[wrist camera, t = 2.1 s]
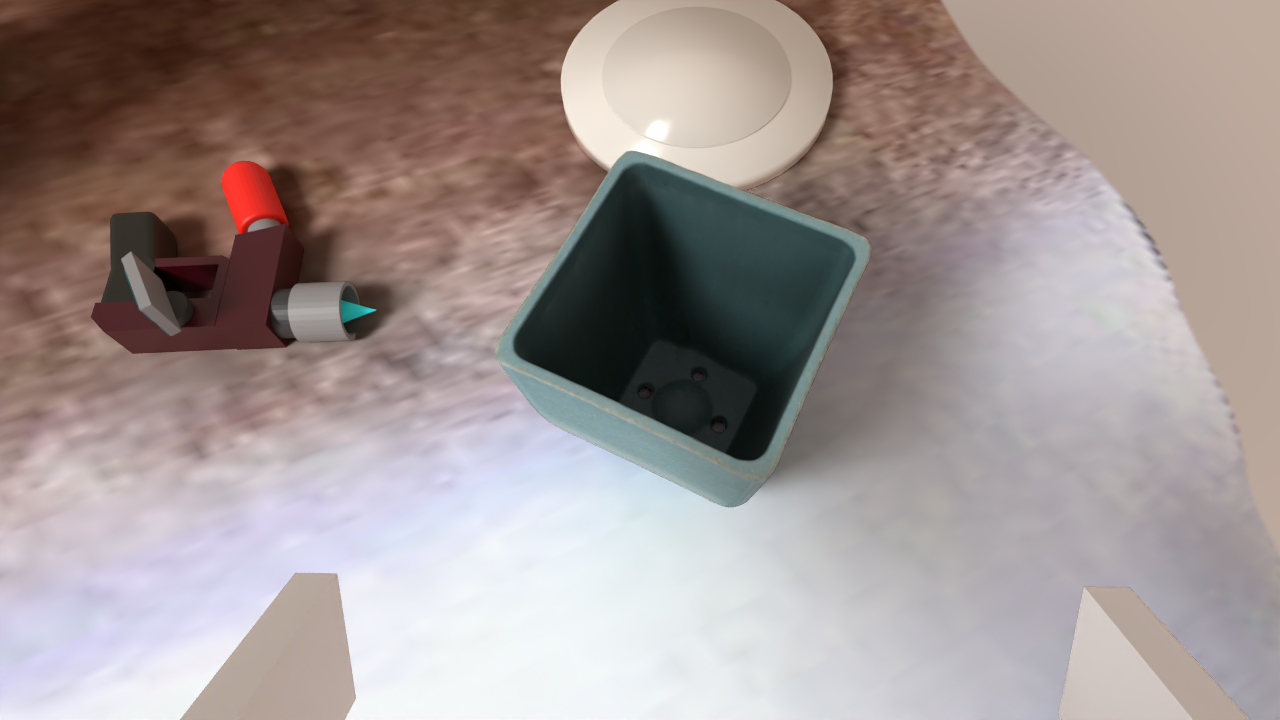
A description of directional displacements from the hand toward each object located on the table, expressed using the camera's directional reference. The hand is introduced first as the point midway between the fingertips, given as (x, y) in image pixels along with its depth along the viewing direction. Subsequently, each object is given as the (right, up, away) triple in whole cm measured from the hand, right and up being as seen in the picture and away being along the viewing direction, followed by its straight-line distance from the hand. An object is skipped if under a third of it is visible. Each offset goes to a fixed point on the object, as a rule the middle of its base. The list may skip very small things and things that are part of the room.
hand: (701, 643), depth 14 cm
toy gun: (-18, +9, +22) cm, 30 cm away
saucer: (+2, +18, +25) cm, 31 cm away
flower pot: (+1, +3, +18) cm, 18 cm away
